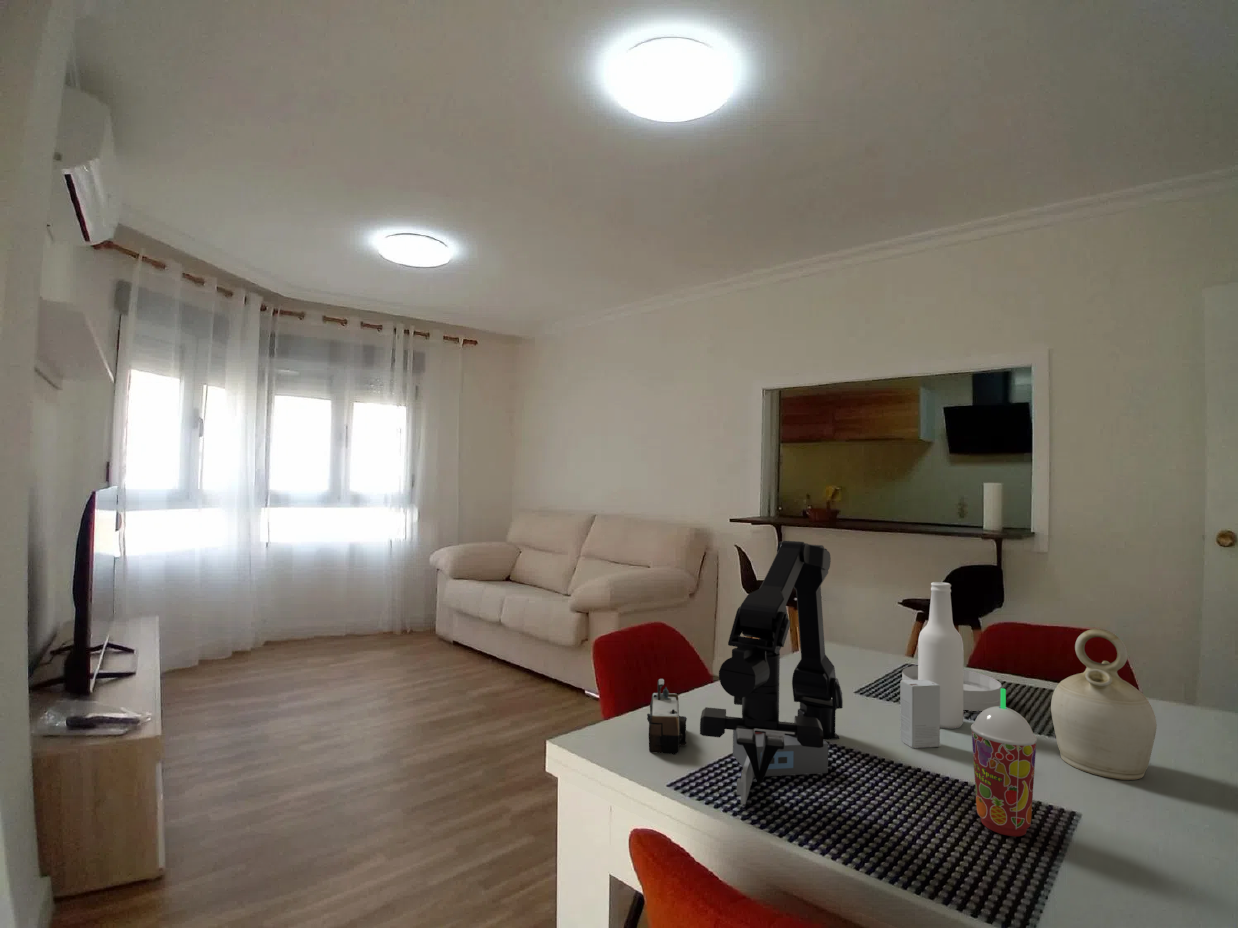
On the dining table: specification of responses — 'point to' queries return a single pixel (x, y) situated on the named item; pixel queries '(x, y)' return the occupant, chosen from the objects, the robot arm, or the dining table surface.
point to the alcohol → (943, 656)
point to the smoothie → (1004, 769)
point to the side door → (745, 781)
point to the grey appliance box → (788, 757)
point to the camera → (665, 723)
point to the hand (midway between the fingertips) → (759, 781)
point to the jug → (1103, 717)
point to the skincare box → (920, 713)
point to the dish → (970, 689)
